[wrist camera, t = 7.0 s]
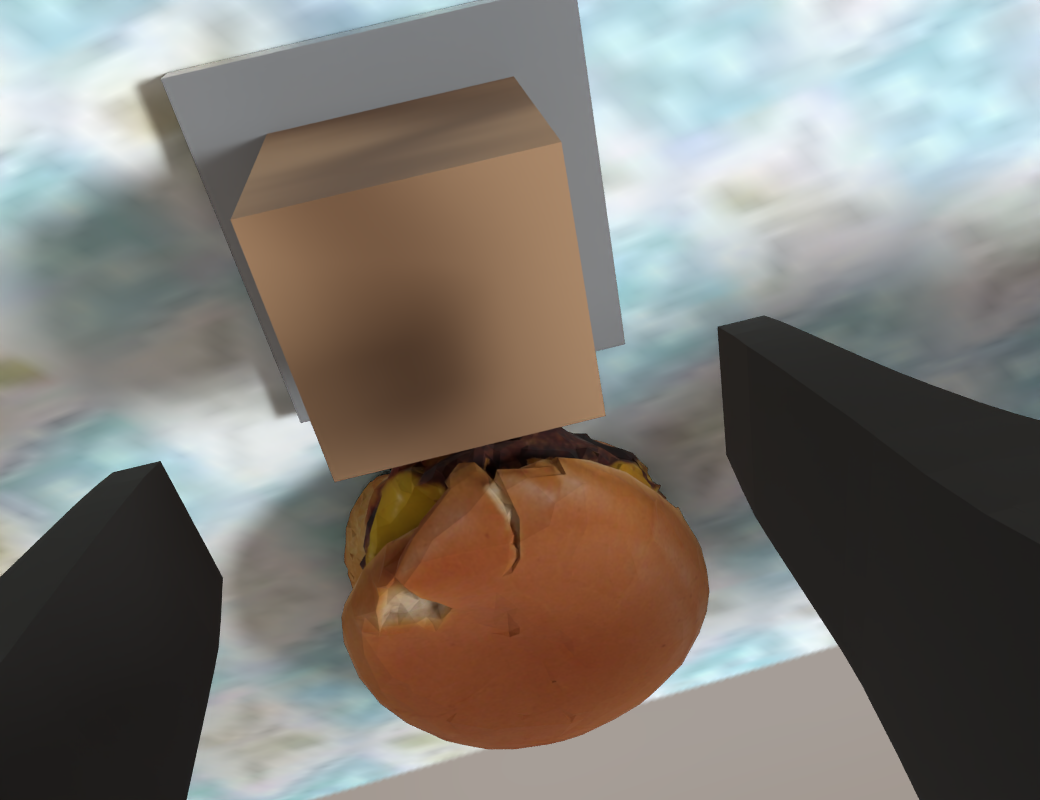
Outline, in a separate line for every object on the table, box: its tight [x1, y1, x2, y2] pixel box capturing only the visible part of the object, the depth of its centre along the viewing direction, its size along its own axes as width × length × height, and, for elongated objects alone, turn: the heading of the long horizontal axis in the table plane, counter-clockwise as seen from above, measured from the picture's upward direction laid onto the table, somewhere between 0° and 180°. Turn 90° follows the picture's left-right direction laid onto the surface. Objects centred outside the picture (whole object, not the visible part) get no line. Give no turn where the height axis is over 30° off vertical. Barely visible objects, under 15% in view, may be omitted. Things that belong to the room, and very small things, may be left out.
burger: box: [342, 427, 709, 749], centre depth 22 cm, size 10×9×5 cm
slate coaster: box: [161, 0, 625, 423], centre depth 18 cm, size 8×8×1 cm
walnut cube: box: [231, 76, 606, 482], centre depth 16 cm, size 5×5×5 cm
